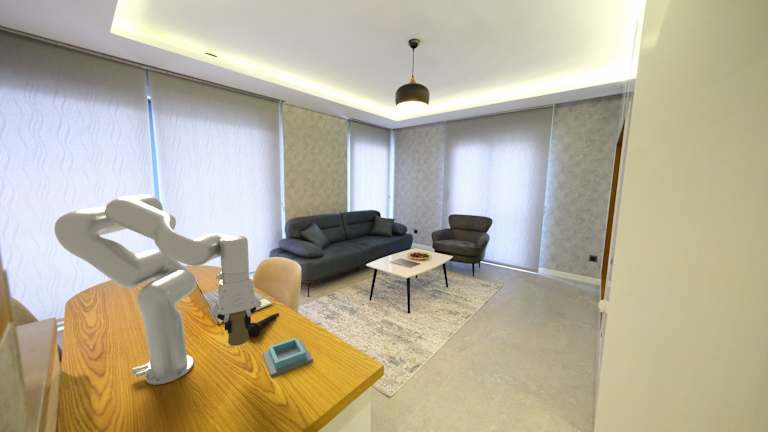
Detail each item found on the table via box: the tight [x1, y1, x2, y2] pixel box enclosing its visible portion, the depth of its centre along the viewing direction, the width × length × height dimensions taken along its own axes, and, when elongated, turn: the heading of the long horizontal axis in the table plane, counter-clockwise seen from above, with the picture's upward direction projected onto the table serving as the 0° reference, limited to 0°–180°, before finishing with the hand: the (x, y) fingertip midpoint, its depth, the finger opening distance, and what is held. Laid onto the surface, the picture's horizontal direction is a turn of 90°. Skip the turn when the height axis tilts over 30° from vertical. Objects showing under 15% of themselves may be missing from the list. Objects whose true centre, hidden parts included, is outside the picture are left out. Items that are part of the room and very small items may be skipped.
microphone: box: [247, 312, 280, 338], centre depth 118 cm, size 6×6×20 cm
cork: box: [227, 311, 250, 347], centre depth 89 cm, size 6×6×11 cm
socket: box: [262, 337, 314, 378], centre depth 99 cm, size 14×13×3 cm
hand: (238, 328), depth 90 cm, fingers closed on cork, 4 cm apart
